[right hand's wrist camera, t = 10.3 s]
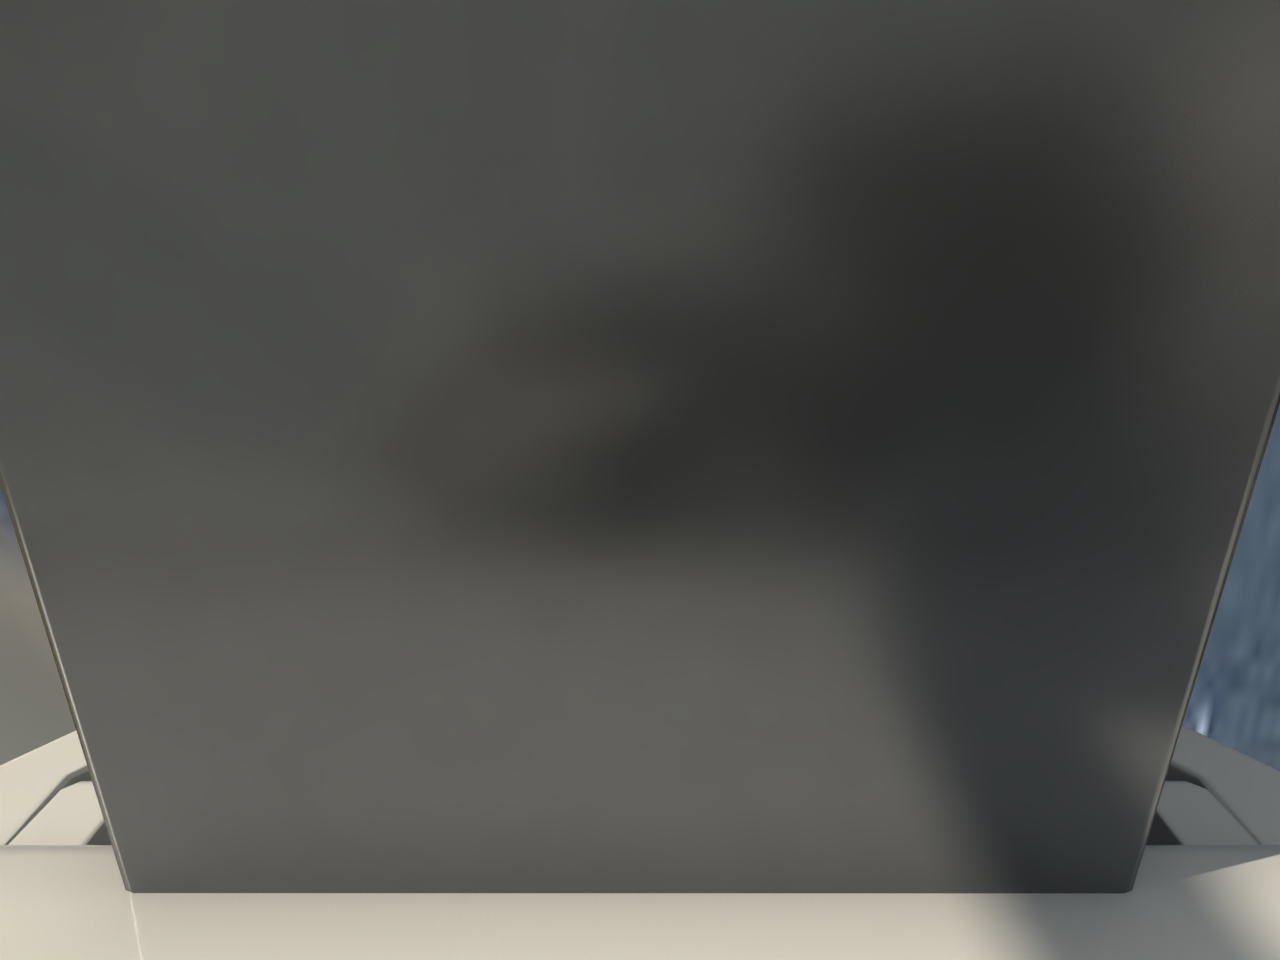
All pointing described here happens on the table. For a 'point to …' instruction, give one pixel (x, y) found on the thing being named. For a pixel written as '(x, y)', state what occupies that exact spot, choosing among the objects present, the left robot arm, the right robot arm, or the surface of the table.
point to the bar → (634, 429)
